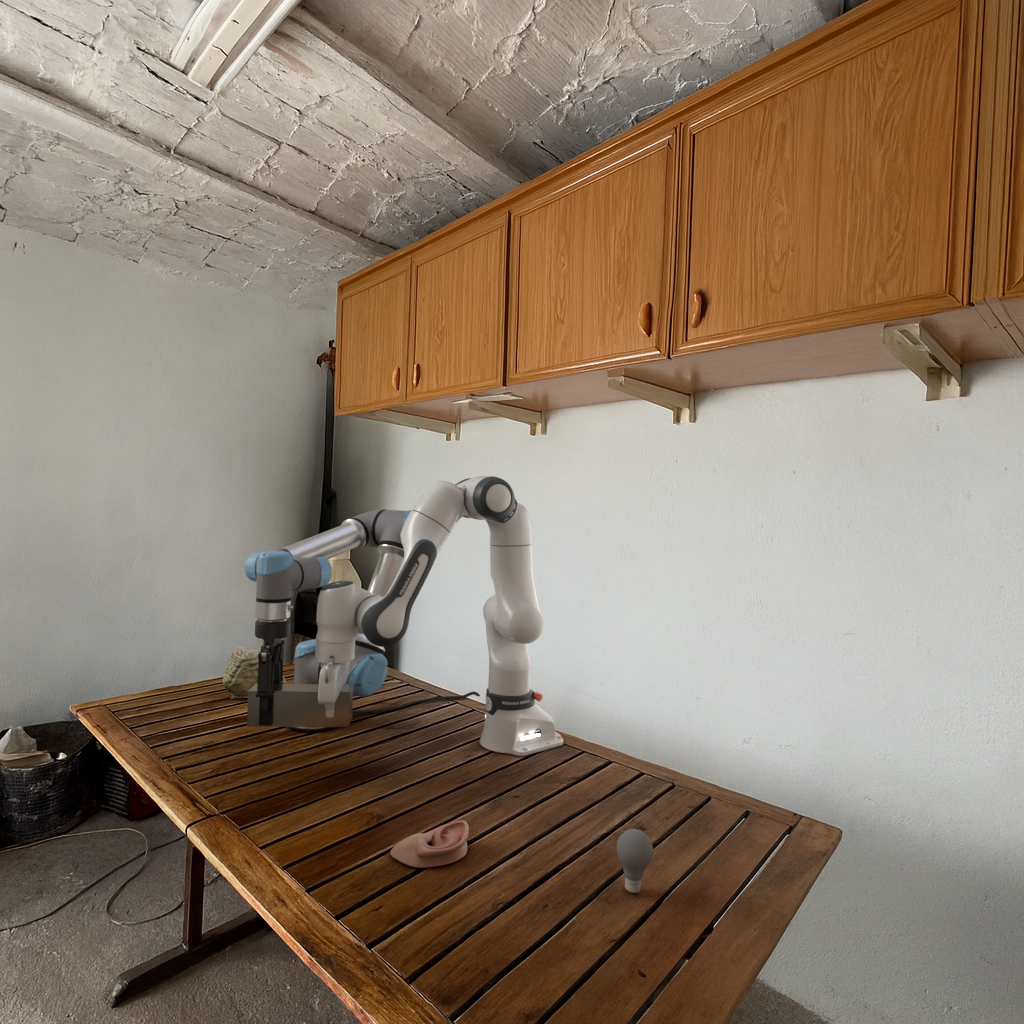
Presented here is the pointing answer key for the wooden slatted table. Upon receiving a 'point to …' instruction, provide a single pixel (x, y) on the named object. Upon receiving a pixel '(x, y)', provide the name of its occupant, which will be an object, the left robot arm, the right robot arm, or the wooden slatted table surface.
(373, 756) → the wooden slatted table surface
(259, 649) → the fossil
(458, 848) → the anatomical model
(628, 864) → the light bulb
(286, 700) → the bar
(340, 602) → the right robot arm
